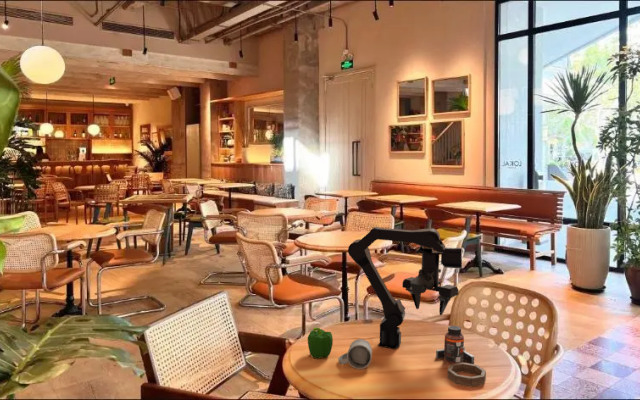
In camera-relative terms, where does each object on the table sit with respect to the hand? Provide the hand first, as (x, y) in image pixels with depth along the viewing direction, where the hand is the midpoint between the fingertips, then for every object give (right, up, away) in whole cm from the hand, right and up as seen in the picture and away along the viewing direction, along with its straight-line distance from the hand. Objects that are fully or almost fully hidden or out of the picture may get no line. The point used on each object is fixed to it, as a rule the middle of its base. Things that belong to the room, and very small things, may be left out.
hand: (429, 311), depth 174 cm
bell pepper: (-37, -14, -5) cm, 40 cm away
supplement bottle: (+6, -14, -9) cm, 18 cm away
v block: (+8, -14, -5) cm, 17 cm away
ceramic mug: (-26, -14, -11) cm, 31 cm away
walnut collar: (+7, -15, -21) cm, 27 cm away
